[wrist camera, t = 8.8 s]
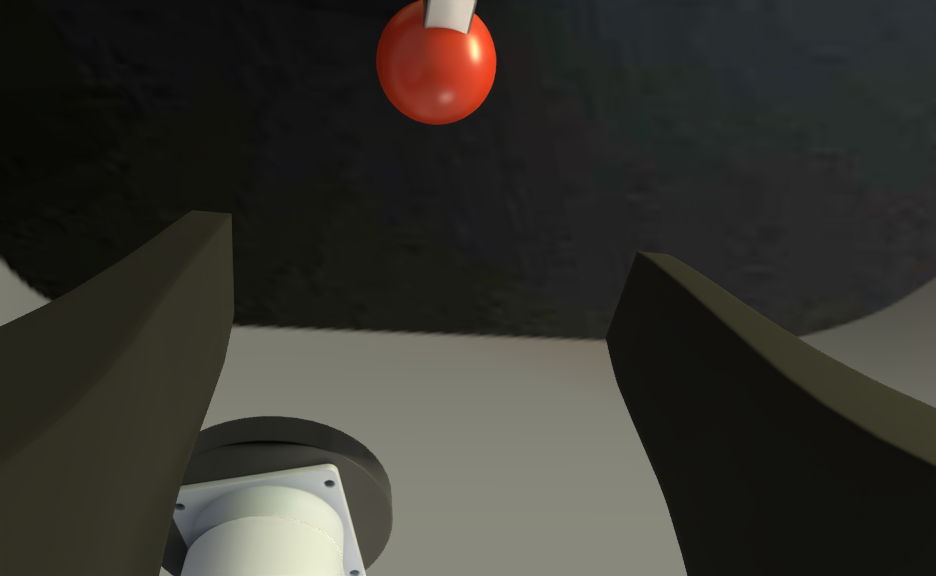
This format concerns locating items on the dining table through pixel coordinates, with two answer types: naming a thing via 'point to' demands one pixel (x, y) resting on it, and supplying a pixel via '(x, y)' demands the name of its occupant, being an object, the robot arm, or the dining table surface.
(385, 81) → the switch lever
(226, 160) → the dining table surface
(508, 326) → the dining table surface
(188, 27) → the dining table surface
